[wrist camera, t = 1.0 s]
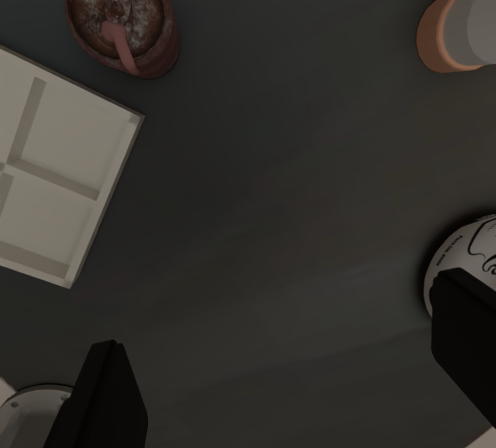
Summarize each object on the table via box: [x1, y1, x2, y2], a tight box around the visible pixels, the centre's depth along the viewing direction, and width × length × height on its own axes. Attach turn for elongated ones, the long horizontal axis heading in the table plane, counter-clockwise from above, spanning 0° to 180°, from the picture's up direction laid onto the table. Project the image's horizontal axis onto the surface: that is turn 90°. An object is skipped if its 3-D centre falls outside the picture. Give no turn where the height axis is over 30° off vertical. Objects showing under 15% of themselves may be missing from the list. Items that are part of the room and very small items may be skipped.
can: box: [64, 0, 180, 79], centre depth 27 cm, size 6×6×14 cm
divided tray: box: [0, 44, 145, 289], centre depth 34 cm, size 18×18×4 cm
